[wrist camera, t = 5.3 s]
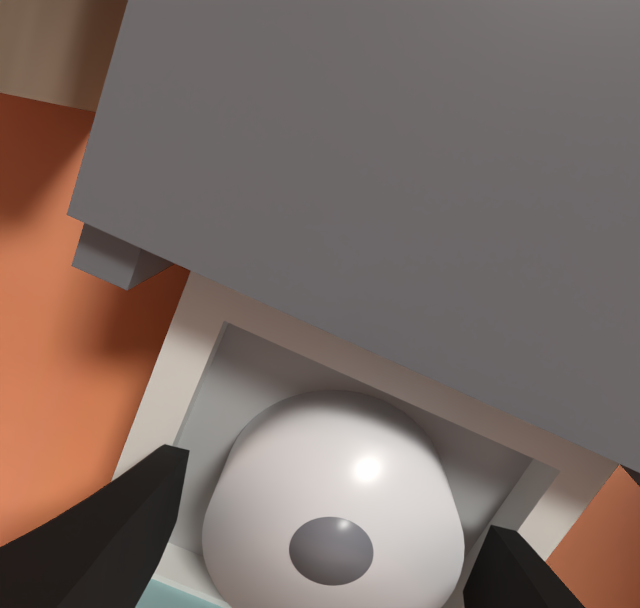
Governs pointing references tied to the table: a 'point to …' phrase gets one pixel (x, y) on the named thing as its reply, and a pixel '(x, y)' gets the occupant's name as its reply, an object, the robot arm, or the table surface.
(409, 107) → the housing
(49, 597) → the robot arm
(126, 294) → the table surface
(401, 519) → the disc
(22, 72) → the birch block
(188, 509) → the tray
